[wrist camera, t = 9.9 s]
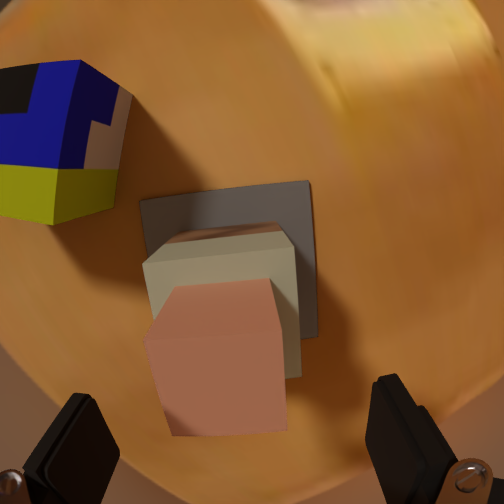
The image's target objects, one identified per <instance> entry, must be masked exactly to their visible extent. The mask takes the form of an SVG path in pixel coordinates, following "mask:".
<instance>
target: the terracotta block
mask: <svg viewBox="0 0 504 504" xmlns="http://www.w3.org/2000/svg"><path fill="white" fill-rule="evenodd" d="M143 341H144V345H145V349H146V353H147V356H148V360H149V364H150V367H151V371H152V374H153V378H154V381H155V385H156V388H157V391H158V394H159V398H160V401H161V404H162V407H163V410H164V413H165V416H166V419H167V422H168V425H169V428H170V431H171V434H172V436H225V435H243V434H257V433H268V432H278V431H287V410H286V391H285V373H284V356H283V340H282V328H281V324H280V320H279V316H278V312H277V308H276V304H275V299H274V295H273V291H272V287H271V283H270V279H269V278H263V279H253V280H242V281H231V282H220V283H209V284H198V285H186V286H175V287H174V289H173V290H172V292H171V294H170V295H169V297H168V299H167V300H166V302H165V304H164V305H163V307H162V309H161V310H160V312H159V314H158V315H157V317H156V319H155V320H154V322H153V324H152V325H151V327H150V329H149V331H148V332H147V334H146V336H145V337H144V339H143Z"/></svg>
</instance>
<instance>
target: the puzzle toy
mask: <svg viewBox="0 0 504 504" xmlns="http://www.w3.org/2000/svg"><path fill="white" fill-rule="evenodd" d="M132 97H133V94H131V93H130V92H128V91H127V90H126V89H124V88H123V87H121V86H120V85H118V84H117V83H115V82H114V81H112V80H111V79H109V78H108V77H106V76H105V75H103V74H102V73H100V72H99V71H97V70H96V69H94V68H93V67H91V66H90V65H88V64H87V63H85V62H84V61H82V60H68V61H56V62H46V63H37V64H29V65H22V66H15V67H9V68H3V69H0V215H1V216H6V217H11V218H16V219H22V220H27V221H32V222H37V223H43V224H48V225H56V224H59V223H62V222H66V221H69V220H72V219H76V218H79V217H82V216H86V215H89V214H93V213H96V212H100V211H103V210H107V209H111V208H114V199H115V191H116V184H117V177H118V170H119V164H120V157H121V151H122V146H123V140H124V135H125V130H126V124H127V119H128V115H129V110H130V105H131V101H132Z"/></svg>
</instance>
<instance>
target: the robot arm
mask: <svg viewBox="0 0 504 504" xmlns="http://www.w3.org/2000/svg"><path fill="white" fill-rule="evenodd" d="M365 442H366V446H367V449H368V452H369V455H370V457H371V460H372V463H373V466H374V468H375V471H376V474H377V476H378V479H379V482H380V485H381V488H382V491H383V494H384V496H385V500H386V502H387V504H504V479H499V478H494V477H493V473H492V469H491V468H490V467H489V465H488V464H486V463H485V462H484V461H482V460H479V459H475V458H468V459H463V460H461V461H458V459H457V458H456V456H455V454H454V453H453V451H452V449H451V448H450V446H449V445H448V443H447V441H446V440H445V438H444V436H443V435H442V433H441V432H440V430H439V428H438V427H437V425H436V424H435V422H434V420H433V419H432V417H431V416H430V414H429V413H428V411H427V410H426V408H425V407H424V406H422V405H420V406H417V405H416V403H415V402H414V400H413V399H412V397H411V395H410V394H409V392H408V391H407V389H406V388H405V386H404V384H403V383H402V381H401V380H400V378H399V377H398V375H397V374H395V373H394V374H389V375H385V376H380V377H379V378H378V380H377V382H373V385H372V393H371V401H370V409H369V416H368V423H367V429H366V436H365ZM119 457H120V451H119V448H118V446H117V444H116V442H115V440H114V438H113V436H112V434H111V432H110V430H109V428H108V426H107V424H106V422H105V420H104V418H103V416H102V414H101V411H100V409H99V407H98V405H97V403H96V401H95V399H93V398H92V397H91V396H90V395H89V394H83V393H73V394H72V396H71V397H70V398H69V400H68V401H67V403H66V404H65V405H64V407H63V408H62V410H61V411H60V412H59V414H58V415H57V417H56V418H55V420H54V421H53V422H52V424H51V425H50V427H49V428H48V430H47V431H46V433H45V434H44V436H43V437H42V439H41V440H40V441H39V443H38V445H37V446H36V447H35V449H34V450H33V452H32V453H31V455H30V456H29V458H28V459H27V461H26V463H25V464H24V466H23V467H22V468H23V469H24V470H25V472H24V474H22V473H21V472H20V471H18V470H15V469H7V470H4V471H2V472H0V504H101V502H102V499H103V497H104V494H105V492H106V489H107V486H108V484H109V481H110V479H111V476H112V474H113V472H114V469H115V467H116V464H117V462H118V460H119Z"/></svg>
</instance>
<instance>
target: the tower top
mask: <svg viewBox="0 0 504 504" xmlns="http://www.w3.org/2000/svg"><path fill="white" fill-rule="evenodd" d="M142 266H143V271H144V276H145V281H146V286H147V291H148V295H149V300H150V305H151V309H152V314H153V318H154V320H155V319H156V317H157V315H158V314H159V312H160V310H161V309H162V307H163V305H164V304H165V302H166V300H167V299H168V297H169V295H170V294H171V292H172V290H173V289H174V287H175V286H186V285H198V284H209V283H220V282H231V281H242V280H253V279H263V278H269V279H270V283H271V287H272V291H273V295H274V299H275V304H276V308H277V312H278V316H279V320H280V324H281V328H282V340H283V356H284V373H285V379H289V378H296V377H302V365H301V344H300V325H299V309H298V293H297V279H296V265H295V252H294V246H293V245H292V243H291V242H290V240H289V239H288V237H287V236H286V235H285V233H284V232H283V231H276V232H267V233H257V234H248V235H239V236H231V237H222V238H213V239H204V240H196V241H187V242H179V243H171V244H164V245H163V246H161V247H160V248H159V249H158V250H157V251H156V252H155V253H154V254H152V255H151V256H150V257H149V258H148V259H147V260H146V261H145V262H143V263H142Z"/></svg>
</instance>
